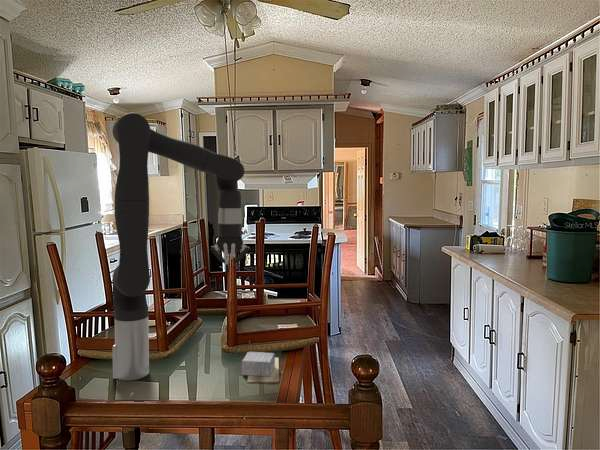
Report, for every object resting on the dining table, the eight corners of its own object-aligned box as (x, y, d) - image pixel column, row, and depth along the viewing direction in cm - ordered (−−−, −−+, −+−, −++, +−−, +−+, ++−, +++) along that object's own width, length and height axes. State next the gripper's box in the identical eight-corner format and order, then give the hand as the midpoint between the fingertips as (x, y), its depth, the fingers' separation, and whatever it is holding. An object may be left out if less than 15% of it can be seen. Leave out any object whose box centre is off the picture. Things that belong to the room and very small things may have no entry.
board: (247, 382, 125) (247, 381, 125) (250, 358, 143) (250, 357, 143) (279, 382, 126) (279, 380, 125) (278, 358, 143) (278, 357, 143)
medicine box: (241, 375, 129) (270, 377, 128) (241, 360, 129) (270, 362, 128) (247, 365, 137) (275, 366, 136) (247, 351, 136) (275, 352, 135)
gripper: (207, 222, 138) (207, 277, 139) (249, 223, 138) (249, 277, 140) (210, 221, 145) (210, 273, 146) (251, 221, 146) (250, 273, 147)
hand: (229, 275), depth 143 cm, fingers closed
